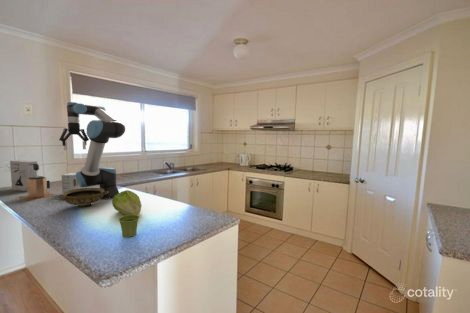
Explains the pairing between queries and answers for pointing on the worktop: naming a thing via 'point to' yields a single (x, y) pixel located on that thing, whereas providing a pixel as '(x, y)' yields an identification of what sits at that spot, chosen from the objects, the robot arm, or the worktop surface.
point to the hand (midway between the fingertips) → (75, 149)
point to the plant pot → (129, 225)
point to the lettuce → (127, 203)
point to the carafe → (37, 187)
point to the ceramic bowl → (83, 196)
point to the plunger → (36, 168)
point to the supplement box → (69, 182)
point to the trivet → (36, 198)
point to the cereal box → (21, 173)
